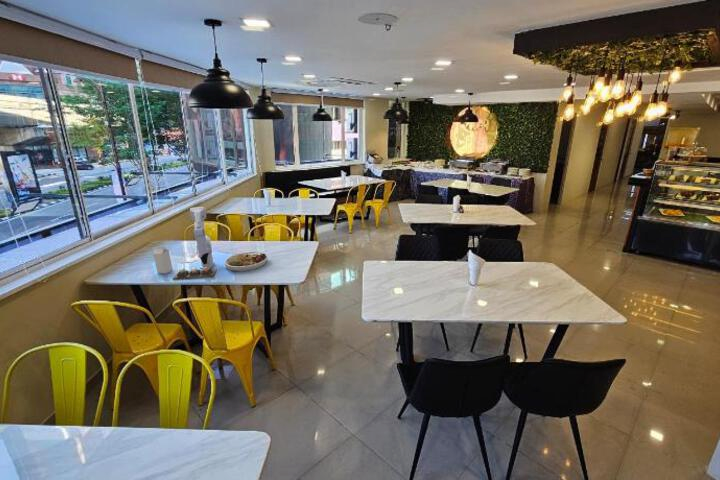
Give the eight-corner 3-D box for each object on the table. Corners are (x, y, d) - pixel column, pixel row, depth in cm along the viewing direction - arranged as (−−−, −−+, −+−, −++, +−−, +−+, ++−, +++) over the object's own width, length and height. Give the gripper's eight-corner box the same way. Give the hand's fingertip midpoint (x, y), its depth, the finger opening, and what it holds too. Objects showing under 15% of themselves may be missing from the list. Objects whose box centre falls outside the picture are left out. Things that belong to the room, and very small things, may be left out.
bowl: (223, 275, 244) (222, 265, 242) (227, 260, 272) (225, 251, 270) (268, 269, 252) (266, 259, 249) (267, 255, 279) (266, 246, 277)
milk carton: (166, 273, 250) (160, 248, 244) (157, 273, 252) (151, 248, 246) (173, 269, 257) (167, 245, 251) (164, 269, 258) (159, 244, 252)
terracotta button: (204, 270, 246) (204, 266, 245) (210, 269, 247) (209, 266, 246) (203, 272, 243) (202, 268, 242) (208, 271, 243) (207, 268, 242)
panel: (179, 273, 250) (178, 269, 249) (217, 270, 252) (216, 266, 251) (173, 279, 240) (172, 275, 239) (212, 277, 242) (211, 272, 241)
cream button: (192, 271, 246) (192, 267, 245) (198, 270, 246) (197, 267, 245) (191, 273, 242) (190, 269, 241) (196, 272, 242) (195, 269, 242)
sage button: (180, 271, 245) (180, 268, 244) (186, 271, 245) (185, 268, 244) (178, 273, 241) (178, 270, 241) (184, 273, 242) (183, 270, 241)
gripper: (199, 242, 245) (202, 260, 249) (191, 249, 232) (195, 268, 236) (209, 241, 246) (212, 259, 250) (203, 248, 232) (206, 267, 236)
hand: (205, 263), depth 243 cm, fingers closed
